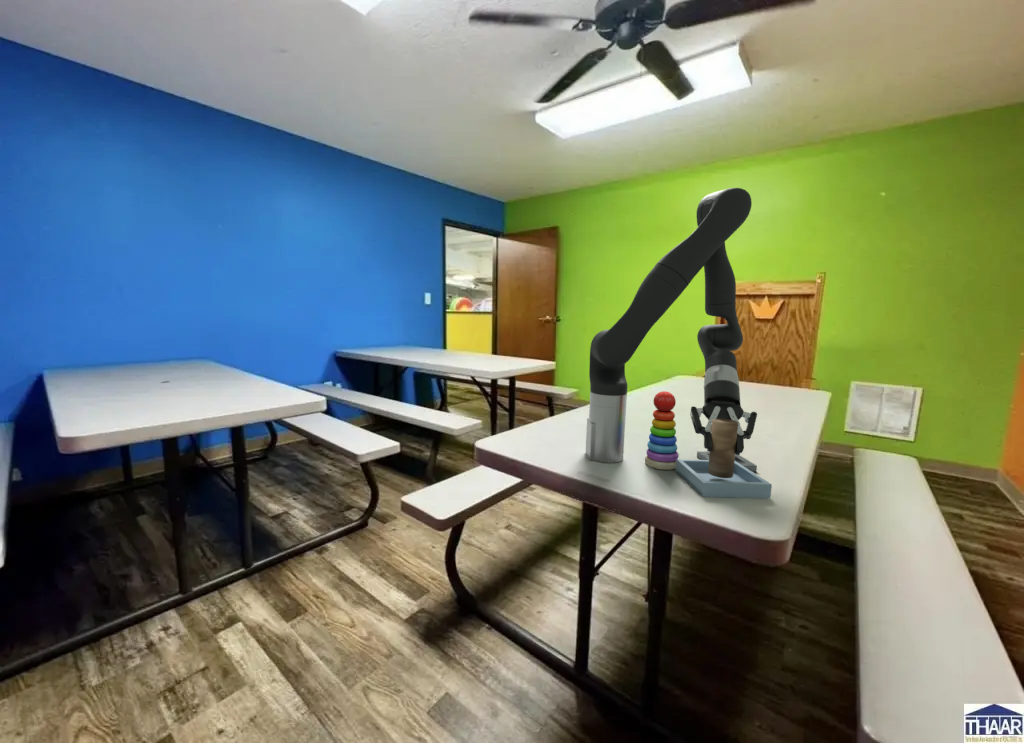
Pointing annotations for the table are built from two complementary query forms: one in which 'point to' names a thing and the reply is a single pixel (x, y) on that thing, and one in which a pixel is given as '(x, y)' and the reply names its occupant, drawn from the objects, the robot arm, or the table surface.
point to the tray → (723, 481)
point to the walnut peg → (723, 448)
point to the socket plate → (738, 459)
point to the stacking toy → (663, 434)
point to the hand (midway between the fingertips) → (723, 451)
